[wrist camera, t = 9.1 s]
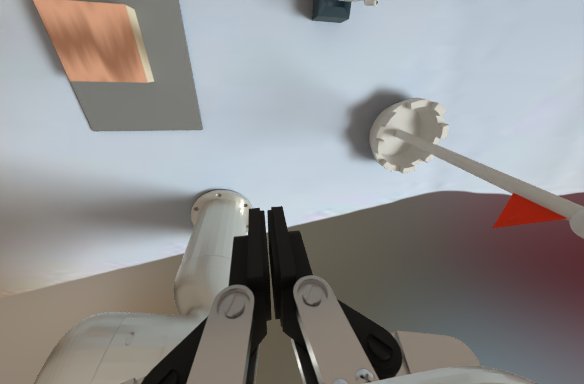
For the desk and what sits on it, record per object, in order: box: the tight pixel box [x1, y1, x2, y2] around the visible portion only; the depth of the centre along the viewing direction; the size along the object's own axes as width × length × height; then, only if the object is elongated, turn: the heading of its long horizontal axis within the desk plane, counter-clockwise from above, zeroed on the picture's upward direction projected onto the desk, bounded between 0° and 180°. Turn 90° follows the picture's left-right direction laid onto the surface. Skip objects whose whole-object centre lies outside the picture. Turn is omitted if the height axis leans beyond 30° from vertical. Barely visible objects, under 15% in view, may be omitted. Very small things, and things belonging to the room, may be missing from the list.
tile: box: [33, 0, 154, 83], centre depth 26 cm, size 8×2×9 cm
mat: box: [70, 0, 203, 131], centre depth 28 cm, size 22×16×1 cm
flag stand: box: [369, 98, 584, 238], centre depth 28 cm, size 13×13×30 cm
